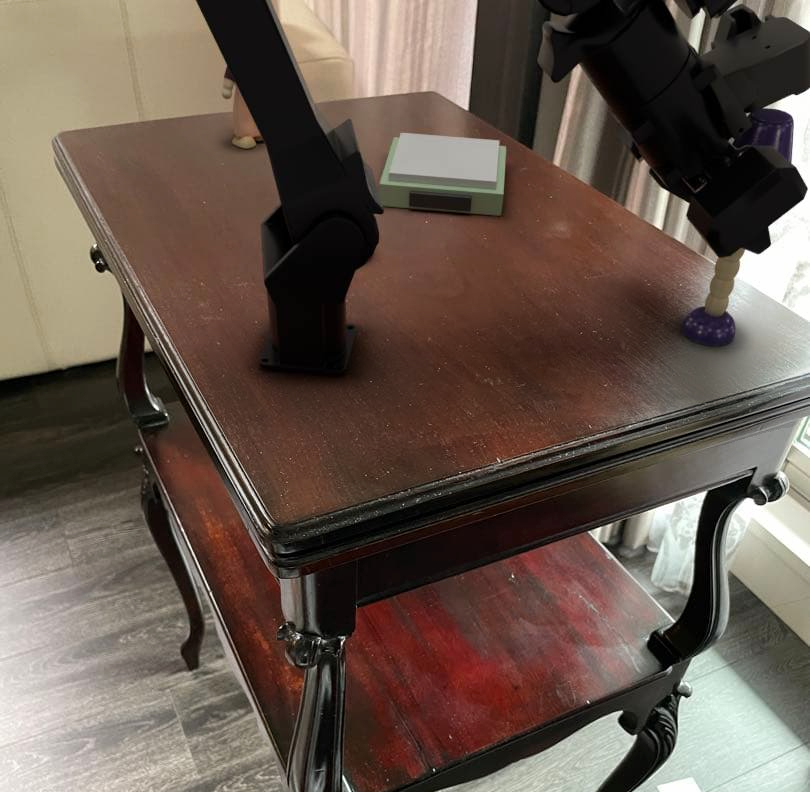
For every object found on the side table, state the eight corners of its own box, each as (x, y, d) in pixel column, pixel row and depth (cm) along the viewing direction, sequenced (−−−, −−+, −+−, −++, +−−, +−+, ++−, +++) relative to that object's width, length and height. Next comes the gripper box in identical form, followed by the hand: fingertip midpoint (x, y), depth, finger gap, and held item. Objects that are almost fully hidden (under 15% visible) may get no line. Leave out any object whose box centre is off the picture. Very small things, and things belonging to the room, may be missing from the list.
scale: (500, 218, 81) (504, 187, 79) (378, 208, 82) (378, 177, 80) (503, 167, 90) (507, 138, 88) (393, 158, 91) (393, 128, 88)
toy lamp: (690, 350, 66) (763, 129, 54) (663, 319, 69) (725, 104, 57) (744, 343, 67) (826, 124, 55) (714, 313, 70) (786, 100, 58)
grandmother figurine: (257, 154, 90) (245, 19, 81) (223, 150, 90) (207, 15, 81) (279, 128, 95) (270, -1, 86) (246, 124, 96) (234, -5, 87)
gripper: (840, 15, 44) (929, 215, 53) (701, -64, 56) (793, 109, 66) (658, 171, 48) (770, 330, 58) (568, 66, 61) (671, 210, 70)
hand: (751, 235), depth 63 cm, fingers open, 4 cm apart
